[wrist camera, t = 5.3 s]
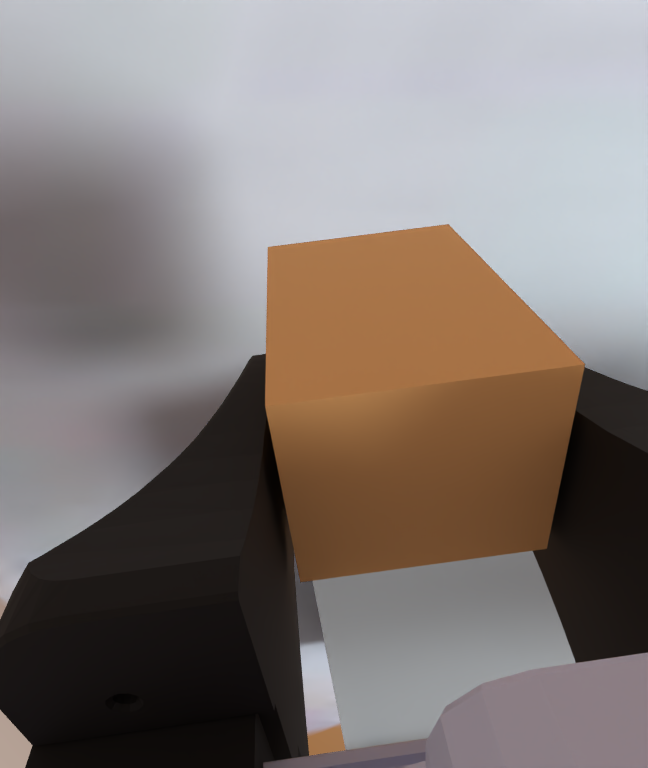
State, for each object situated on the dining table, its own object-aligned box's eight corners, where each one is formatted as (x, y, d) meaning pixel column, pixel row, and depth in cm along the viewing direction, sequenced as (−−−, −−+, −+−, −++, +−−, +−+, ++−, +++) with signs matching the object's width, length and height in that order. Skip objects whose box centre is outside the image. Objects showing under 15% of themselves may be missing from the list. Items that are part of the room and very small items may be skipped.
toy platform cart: (573, 350, 22) (837, 615, 12) (527, 616, 32) (644, 879, 22) (290, 390, 22) (308, 694, 12) (335, 644, 32) (365, 921, 22)
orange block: (448, 224, 11) (584, 364, 6) (440, 461, 15) (522, 663, 10) (268, 246, 11) (265, 406, 6) (305, 479, 15) (322, 692, 10)
